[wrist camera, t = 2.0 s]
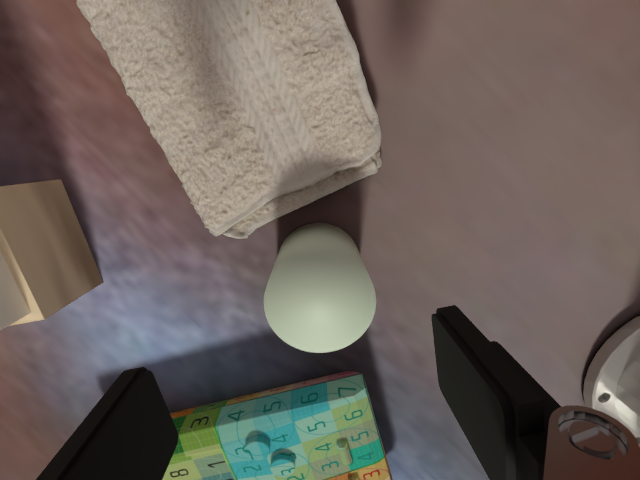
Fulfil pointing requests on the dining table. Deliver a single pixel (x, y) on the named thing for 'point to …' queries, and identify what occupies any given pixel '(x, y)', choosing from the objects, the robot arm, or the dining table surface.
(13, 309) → the cream middle block
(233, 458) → the puzzle game
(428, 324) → the dining table surface
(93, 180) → the dining table surface
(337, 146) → the washcloth
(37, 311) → the oak base block
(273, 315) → the sage round block
